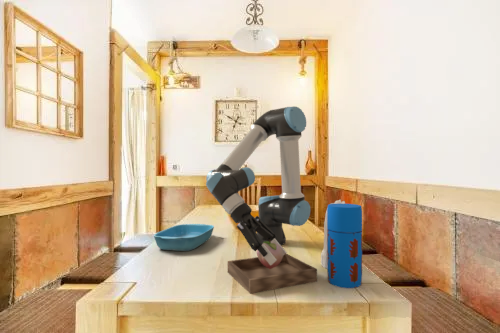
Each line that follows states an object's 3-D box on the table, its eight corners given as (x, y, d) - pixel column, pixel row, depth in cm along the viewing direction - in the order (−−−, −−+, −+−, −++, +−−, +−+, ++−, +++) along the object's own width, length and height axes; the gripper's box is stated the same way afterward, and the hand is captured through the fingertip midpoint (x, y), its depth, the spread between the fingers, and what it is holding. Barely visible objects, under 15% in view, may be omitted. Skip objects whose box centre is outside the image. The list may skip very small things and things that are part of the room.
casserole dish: (180, 234, 172) (180, 221, 172) (218, 236, 167) (218, 223, 167) (145, 253, 135) (145, 236, 135) (193, 255, 131) (193, 239, 131)
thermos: (361, 278, 104) (361, 204, 104) (362, 290, 94) (362, 208, 94) (328, 274, 108) (328, 202, 108) (325, 285, 98) (325, 206, 98)
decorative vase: (334, 272, 110) (334, 202, 110) (315, 263, 119) (315, 199, 119) (357, 267, 115) (357, 200, 115) (336, 259, 124) (336, 197, 124)
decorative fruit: (288, 270, 104) (288, 240, 104) (269, 275, 100) (269, 244, 100) (271, 262, 112) (271, 235, 112) (253, 267, 108) (253, 238, 108)
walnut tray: (285, 263, 120) (285, 253, 120) (316, 281, 101) (316, 269, 101) (227, 272, 110) (227, 261, 110) (250, 293, 92) (250, 280, 92)
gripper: (244, 211, 122) (282, 257, 115) (215, 220, 103) (258, 275, 96) (256, 198, 120) (296, 244, 113) (228, 205, 100) (274, 260, 93)
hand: (279, 258), depth 104 cm, fingers closed on decorative fruit, 9 cm apart
